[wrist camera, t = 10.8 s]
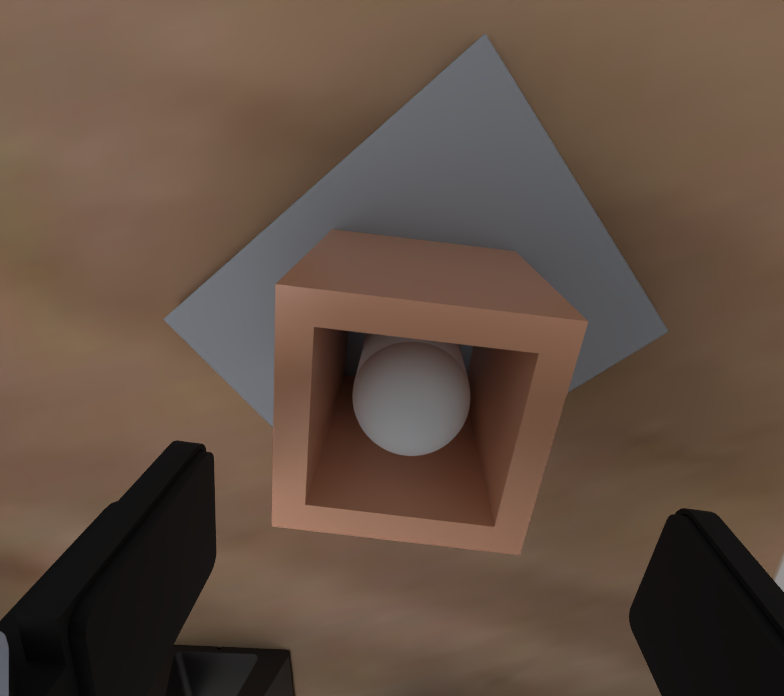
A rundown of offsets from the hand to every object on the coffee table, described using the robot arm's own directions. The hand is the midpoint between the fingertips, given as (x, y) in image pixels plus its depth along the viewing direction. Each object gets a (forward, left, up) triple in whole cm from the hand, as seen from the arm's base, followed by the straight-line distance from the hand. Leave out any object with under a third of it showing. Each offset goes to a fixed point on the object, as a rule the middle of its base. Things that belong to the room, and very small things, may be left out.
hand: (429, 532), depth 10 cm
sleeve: (+1, 0, -11) cm, 11 cm away
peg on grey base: (+1, 0, -12) cm, 12 cm away
